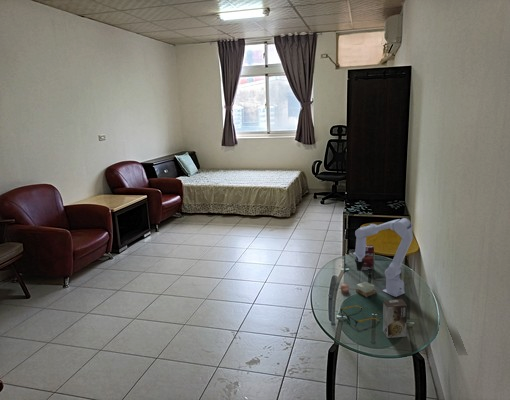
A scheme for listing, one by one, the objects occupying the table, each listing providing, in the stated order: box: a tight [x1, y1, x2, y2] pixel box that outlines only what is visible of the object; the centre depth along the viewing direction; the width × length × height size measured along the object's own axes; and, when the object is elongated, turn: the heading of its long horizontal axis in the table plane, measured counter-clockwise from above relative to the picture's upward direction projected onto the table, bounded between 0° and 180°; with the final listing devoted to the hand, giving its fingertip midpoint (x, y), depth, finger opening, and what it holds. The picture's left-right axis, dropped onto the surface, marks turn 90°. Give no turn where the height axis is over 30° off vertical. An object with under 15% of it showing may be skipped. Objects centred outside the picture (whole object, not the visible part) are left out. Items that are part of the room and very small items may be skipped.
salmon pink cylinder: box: [340, 283, 350, 294], centre depth 223 cm, size 4×4×4 cm
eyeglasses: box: [340, 305, 380, 326], centre depth 194 cm, size 14×14×4 cm
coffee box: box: [382, 298, 408, 339], centre depth 177 cm, size 9×6×16 cm
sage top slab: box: [356, 281, 375, 293], centre depth 221 cm, size 7×7×2 cm
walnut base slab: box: [355, 287, 377, 298], centre depth 221 cm, size 8×8×2 cm
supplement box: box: [361, 244, 375, 271], centre depth 252 cm, size 9×5×16 cm, turn 89°
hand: (359, 267), depth 231 cm, fingers open, 7 cm apart
